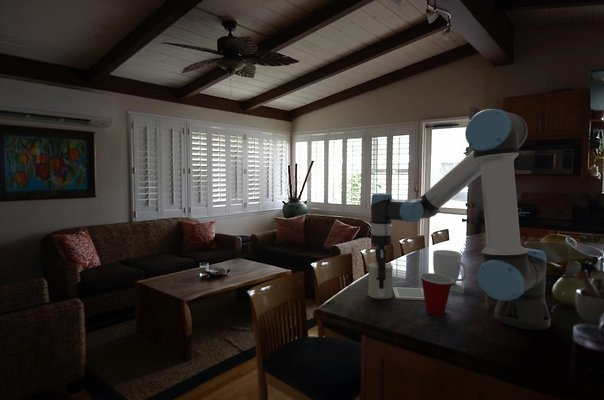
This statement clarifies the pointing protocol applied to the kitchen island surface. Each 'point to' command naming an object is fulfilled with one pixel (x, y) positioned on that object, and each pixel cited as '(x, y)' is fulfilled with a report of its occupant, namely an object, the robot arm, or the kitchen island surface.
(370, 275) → the can
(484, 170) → the robot arm
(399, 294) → the square picture frame
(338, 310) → the kitchen island surface
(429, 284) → the plastic cup
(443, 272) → the mug
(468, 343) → the kitchen island surface
